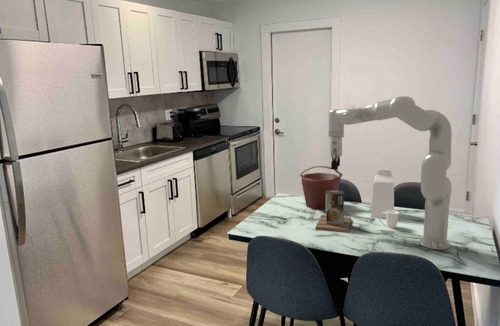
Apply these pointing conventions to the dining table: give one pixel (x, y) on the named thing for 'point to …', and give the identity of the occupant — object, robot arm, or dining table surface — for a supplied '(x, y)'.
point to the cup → (391, 218)
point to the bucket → (319, 187)
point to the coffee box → (334, 207)
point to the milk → (382, 193)
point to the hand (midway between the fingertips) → (335, 167)
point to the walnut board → (333, 225)
